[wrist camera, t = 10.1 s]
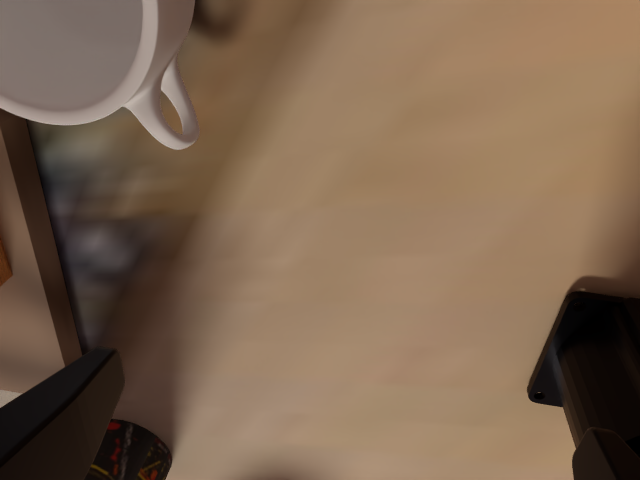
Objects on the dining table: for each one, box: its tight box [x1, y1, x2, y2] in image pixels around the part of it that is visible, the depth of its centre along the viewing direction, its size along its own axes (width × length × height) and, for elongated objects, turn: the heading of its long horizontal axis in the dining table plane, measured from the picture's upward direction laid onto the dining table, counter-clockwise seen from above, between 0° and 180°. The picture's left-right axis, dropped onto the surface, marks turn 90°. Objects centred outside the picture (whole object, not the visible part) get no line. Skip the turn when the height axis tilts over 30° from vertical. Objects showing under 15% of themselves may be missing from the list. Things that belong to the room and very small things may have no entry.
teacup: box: [0, 0, 200, 150], centre depth 16 cm, size 10×8×5 cm
